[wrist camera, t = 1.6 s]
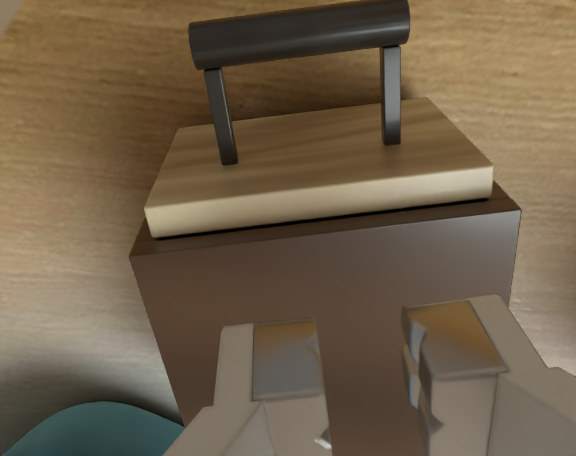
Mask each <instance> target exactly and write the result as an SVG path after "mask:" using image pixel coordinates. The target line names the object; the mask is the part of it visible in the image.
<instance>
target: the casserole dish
mask: <svg viewBox="0 0 576 456" xmlns="http://www.w3.org/2000/svg"><path fill="white" fill-rule="evenodd" d="M184 430H185V427H183V426H181V425H179V424H177V423H175V422H172V421H170V420H168V419H165V418H163V417H161V416H158V415H156V414H154V413H151V412H149V411H146V410H143V409H141V408H138V407H136V406H132V405H128V404H124V403H118V402H108V401H100V402H92V403H84V404H80V405H75V406H72V407H69V408H66V409H64V410H61V411H59V412H57V413H55V414H53V415H52V416H50V417H48V418H47V419H45V420H44V421H42V422H41V423H39V424H38V425H37V426H35V427H34V428H32V429H31V430H30V431H29V432H28V433H27V434H25V435H24V436H23V437H22V438H21V439H20V440H19V441H17V442H16V443H15V444H14V445H13V446H12V447H11V448H10V449H9V450H8V451H6V452H5V453H4V454H3V455H2V456H163V454H164V453H165V452H166V451H167V450H168V449H169V447H170V446H171V445H172V444H173V443H174V441H175V440H176V439H177V438H178V437H179V436H180V434H181V433H182V432H183V431H184Z"/></svg>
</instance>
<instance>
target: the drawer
mask: <svg viewBox="0 0 576 456" xmlns="http://www.w3.org/2000/svg"><path fill="white" fill-rule="evenodd" d="M409 33H410V11H409V5H408V1H407V0H360V1H352V2H344V3H337V4H329V5H321V6H313V7H306V8H298V9H290V10H283V11H275V12H267V13H259V14H252V15H244V16H236V17H229V18H221V19H213V20H205V21H198V22H191V23H189V26H188V35H189V43H190V49H191V54H192V58H193V62H194V65H195V67H196V69H197V70H204V77H205V82H206V87H207V92H208V98H209V103H210V108H211V113H212V118H213V123H214V124H208V125H200V126H192V127H184V128H178V130H177V132H176V134H175V137H174V139H173V141H172V144H171V146H170V148H169V151H168V153H167V155H166V158H165V160H164V162H163V165H162V167H161V169H160V171H159V174H158V176H157V178H156V181H155V183H154V185H153V188H152V190H151V192H150V195H149V197H148V199H147V202H146V204H145V206H144V212H145V215H146V219H147V222H148V226H149V229H150V232H151V236H152V237H153V238H158V237H167V236H175V235H183V234H190V235H189V237H195V236H203V235H211V234H220V233H228V232H236V231H244V230H253V229H261V228H269V227H278V226H286V225H294V224H303V223H311V222H319V221H327V220H336V219H344V218H352V217H361V216H369V215H377V214H386V213H394V212H402V211H410V210H419V209H427V208H435V207H444V206H448V205H447V203H449V202H457V201H465V200H473V199H482V198H489V197H491V196H492V185H493V175H494V165H493V164H492V163H491V162H490V161H489V159H488V158H487V157H486V156H485V155H484V154H483V153H482V152H481V151H480V150H479V149H478V148H477V147H476V146H475V145H474V144H473V143H472V142H471V141H470V140H469V139H468V138H467V137H466V136H465V135H464V134H463V133H462V132H461V131H460V130H459V129H458V128H457V127H456V126H455V125H454V124H453V123H452V122H451V121H450V120H449V119H448V118H447V117H446V116H445V115H444V114H443V113H442V112H441V111H440V110H439V109H438V108H437V107H436V106H435V105H434V104H433V103H432V102H431V101H430V100H429V99H428V98H427V97H423V98H415V99H407V100H401V47H400V46H399V45H401V44H405V43H407V41H408V38H409ZM378 47H380V88H381V103H376V104H368V105H360V106H352V107H344V108H336V109H328V110H320V111H312V112H304V113H296V114H288V115H280V116H272V117H264V118H256V119H248V120H240V121H232V119H231V114H230V108H229V102H228V97H227V91H226V85H225V80H224V74H223V68H222V67H229V66H237V65H244V64H252V63H260V62H268V61H276V60H284V59H292V58H299V57H307V56H315V55H323V54H331V53H339V52H346V51H354V50H362V49H370V48H378Z"/></svg>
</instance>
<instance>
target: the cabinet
mask: <svg viewBox="0 0 576 456" xmlns="http://www.w3.org/2000/svg"><path fill="white" fill-rule="evenodd" d="M447 205H448V206H444V207H435V208H427V209H419V210H410V211H402V212H394V213H386V214H377V215H369V216H361V217H352V218H344V219H336V220H327V221H319V222H311V223H303V224H294V225H286V226H278V227H269V228H261V229H253V230H244V231H236V232H228V233H220V234H211V235H203V236H195V237H189V235H190V234H183V235H175V236H167V237H158V238H153V237H152V236H151V232H150V229H149V226H148V222H147V219H146V216H145V218H144V221H143V223H142V225H141V228H140V230H139V233H138V235H137V237H136V240H135V242H134V245H133V247H132V249H131V252H130V254H129V259H130V262H131V265H132V268H133V271H134V275H135V278H136V281H137V284H138V287H139V290H140V293H141V296H142V299H143V302H144V305H145V308H146V311H147V314H148V317H149V320H150V323H151V326H152V329H153V332H154V335H155V338H156V341H157V344H158V348H159V351H160V354H161V357H162V360H163V363H164V366H165V369H166V372H167V375H168V378H169V381H170V384H171V387H172V390H173V393H174V396H175V399H176V402H177V405H178V408H179V411H180V414H181V417H182V421H183V424H184V427H185V428H186V427H187V426H188V425H189V424H190V423H191V421H192V420H193V419H194V418H195V417H196V415H197V414H198V413H199V412H200V411H201V410H202V408H203V407H209V406H213V404H214V394H215V385H216V376H217V366H218V357H219V348H220V339H221V332H222V330H223V328H224V326H229V325H239V324H250V323H254V324H255V322H266V321H276V320H287V319H298V318H308V317H315V319H316V326H317V333H318V341H319V349H320V356H321V364H322V372H323V380H324V388H325V396H326V404H327V412H328V420H329V431H330V439H331V447H332V456H427V454H426V451H425V448H424V445H423V442H422V439H421V436H420V433H419V430H418V409H417V408H415V407H414V406H413V405H412V404H410V401H409V397H408V394H407V390H406V386H405V382H404V377H403V369H402V360H401V346H402V345H403V343H404V342H405V341H406V339H405V336H404V333H403V330H402V327H401V312H402V307H405V306H413V305H421V304H429V303H437V302H445V301H453V300H461V299H462V300H464V299H465V298H472V297H479V296H486V295H493V294H496V295H498V296H500V297H501V298H502V299H503V301H504V302H505V304H506V305H507V307H509V300H510V293H511V285H512V278H513V270H514V263H515V256H516V248H517V241H518V233H519V226H520V219H521V211H522V210H521V208H520V207H519V206H518V205H517V204H516V203H515V202H514V200H513V199H510V197H509V196H508V195H507V194H506V192H505V191H504V190H503V189H502V188H501V187H500V186H499V185H498V184H497V183H496V182H495V181H494V180H493V185H492V196H491V197H489V198H482V199H473V200H465V201H457V202H449V203H447Z"/></svg>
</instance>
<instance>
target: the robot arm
mask: <svg viewBox="0 0 576 456" xmlns="http://www.w3.org/2000/svg"><path fill="white" fill-rule="evenodd" d="M401 327H402V330H403V333H404V336H405V339H406V341H405V342H404V343H403V345H402V346H401V360H402V369H403V377H404V382H405V386H406V390H407V394H408V397H409V401H410V404H412V405H413V406H414V407H415V408H417V409H418V430H419V433H420V436H421V439H422V442H423V445H424V448H425V451H426V454H427V456H576V377H575V376H574V375H572V374H570V373H568V372H566V371H565V370H563V369H561V368H559V367H553V368H548V367H547V366H546V364H545V363H544V361H543V360H542V358H541V357H540V355H539V354H538V352H537V351H536V349H535V347H534V346H533V344H532V343H531V341H530V340H529V338H528V337H527V335H526V334H525V332H524V331H523V329H522V328H521V326H520V325H519V323H518V322H517V320H516V319H515V317H514V316H513V314H512V313H511V311H510V310H509V308H508V307H507V305H506V304H505V302H504V301H503V299H502V298H501V297H500V296H498V295H496V294H493V295H486V296H479V297H472V298H465V299H464V300H462V299H461V300H453V301H445V302H437V303H429V304H421V305H413V306H405V307H402V312H401ZM163 456H332V447H331V439H330V431H329V420H328V412H327V404H326V396H325V388H324V380H323V372H322V364H321V356H320V349H319V341H318V333H317V326H316V319H315V317H308V318H298V319H287V320H276V321H266V322H255V324H254V323H250V324H239V325H229V326H224V328H223V330H222V332H221V339H220V348H219V357H218V366H217V376H216V385H215V394H214V404H213V406H209V407H203V408H202V410H201V411H200V412H199V413H198V414H197V415H196V417H195V418H194V419H193V420H192V421H191V423H190V424H189V425H188V426H187V427H186V428H185V430H184V431H183V432H182V433H181V434H180V436H179V437H178V438H177V439H176V440H175V441H174V443H173V444H172V445H171V446H170V447H169V449H168V450H167V451H166V452H165V453H164V454H163Z"/></svg>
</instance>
